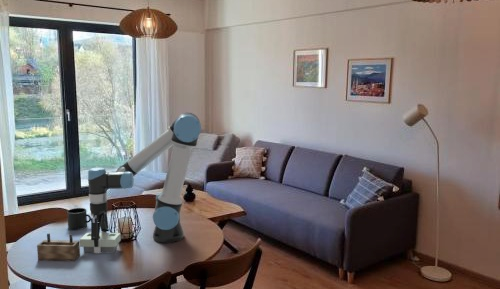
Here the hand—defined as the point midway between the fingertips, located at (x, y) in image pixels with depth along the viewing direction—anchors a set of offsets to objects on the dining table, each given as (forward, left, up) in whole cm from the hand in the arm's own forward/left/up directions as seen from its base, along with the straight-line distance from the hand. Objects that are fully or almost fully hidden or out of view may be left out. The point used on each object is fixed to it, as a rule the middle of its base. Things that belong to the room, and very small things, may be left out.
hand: (101, 248), depth 197 cm
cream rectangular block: (0, 0, +3) cm, 3 cm away
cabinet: (+15, +9, -1) cm, 18 cm away
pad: (0, 0, -1) cm, 1 cm away
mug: (+22, -30, -1) cm, 37 cm away
